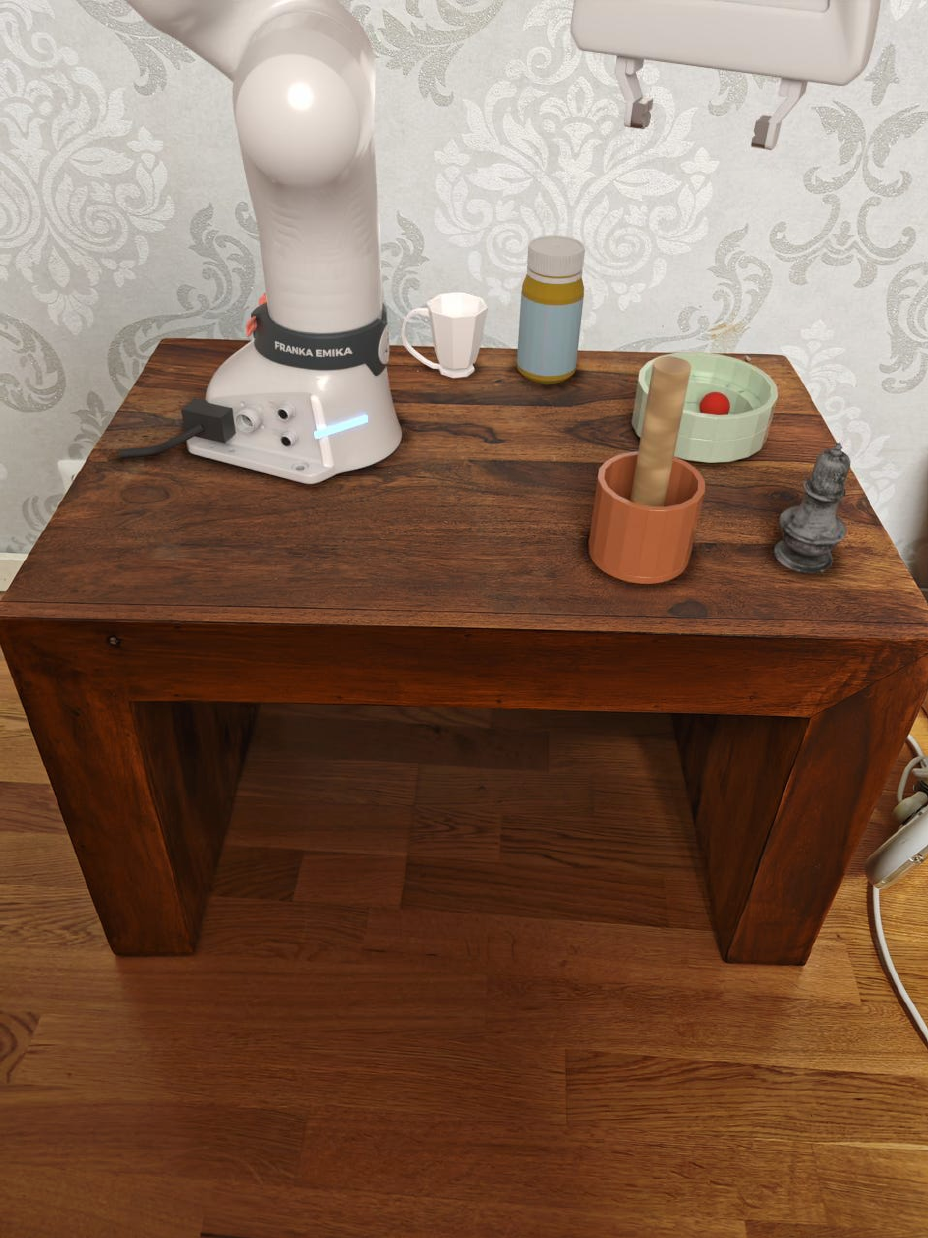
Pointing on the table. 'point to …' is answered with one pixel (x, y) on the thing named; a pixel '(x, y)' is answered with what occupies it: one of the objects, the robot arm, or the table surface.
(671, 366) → the stick
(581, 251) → the bottle
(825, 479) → the grey chess piece
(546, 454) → the table surface
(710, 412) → the ball
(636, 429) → the bowl
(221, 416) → the robot arm
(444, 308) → the cup
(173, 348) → the table surface
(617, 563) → the crock
